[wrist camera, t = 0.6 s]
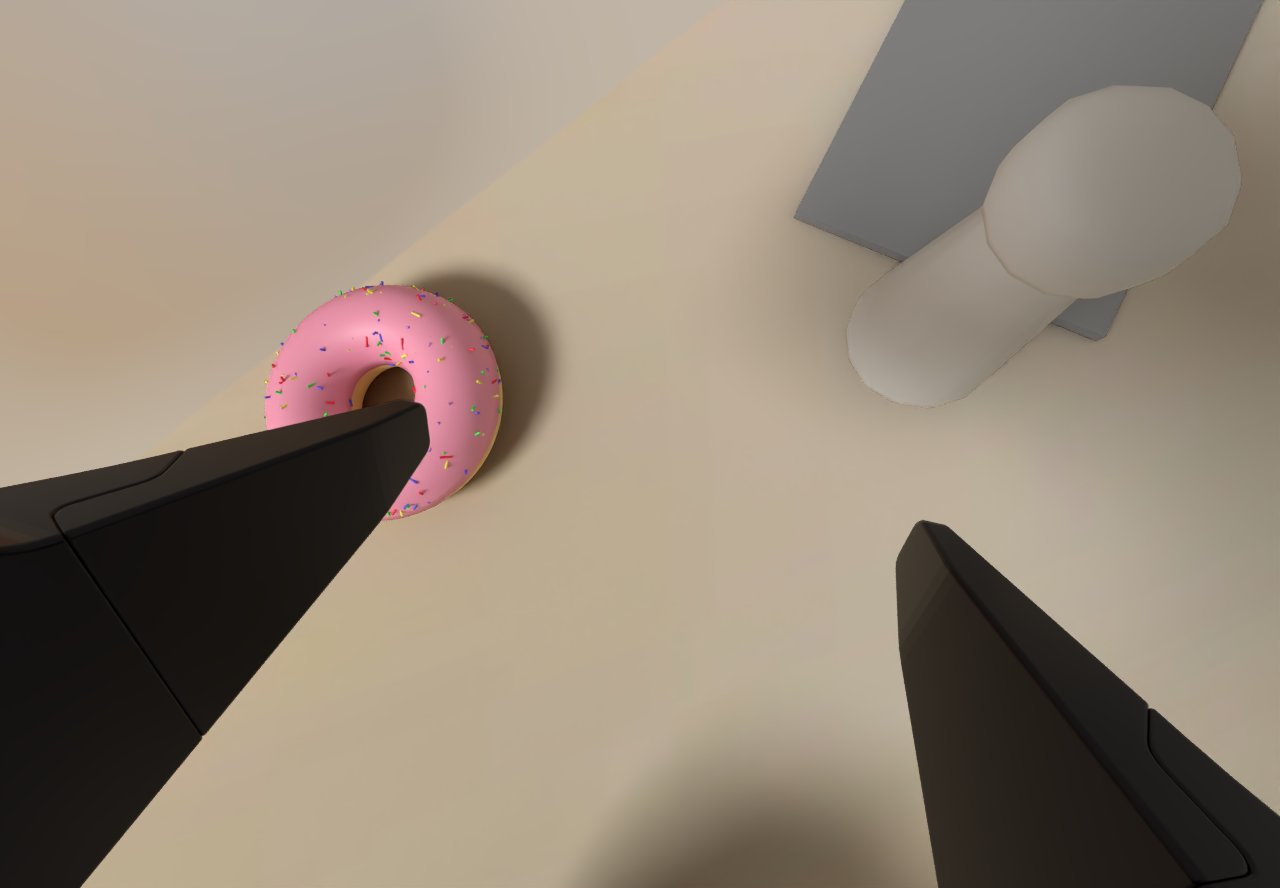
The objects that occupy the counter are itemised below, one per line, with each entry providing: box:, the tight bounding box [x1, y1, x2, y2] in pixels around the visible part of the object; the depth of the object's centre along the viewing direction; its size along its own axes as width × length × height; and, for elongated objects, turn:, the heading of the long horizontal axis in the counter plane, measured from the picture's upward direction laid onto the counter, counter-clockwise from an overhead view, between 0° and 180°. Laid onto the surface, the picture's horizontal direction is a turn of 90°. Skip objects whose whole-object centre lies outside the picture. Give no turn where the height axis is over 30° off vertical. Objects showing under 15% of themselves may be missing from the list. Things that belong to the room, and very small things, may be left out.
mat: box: [794, 0, 1263, 341], centre depth 23 cm, size 18×14×1 cm
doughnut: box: [264, 281, 503, 520], centre depth 23 cm, size 11×11×4 cm
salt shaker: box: [846, 85, 1242, 408], centre depth 16 cm, size 6×6×13 cm
